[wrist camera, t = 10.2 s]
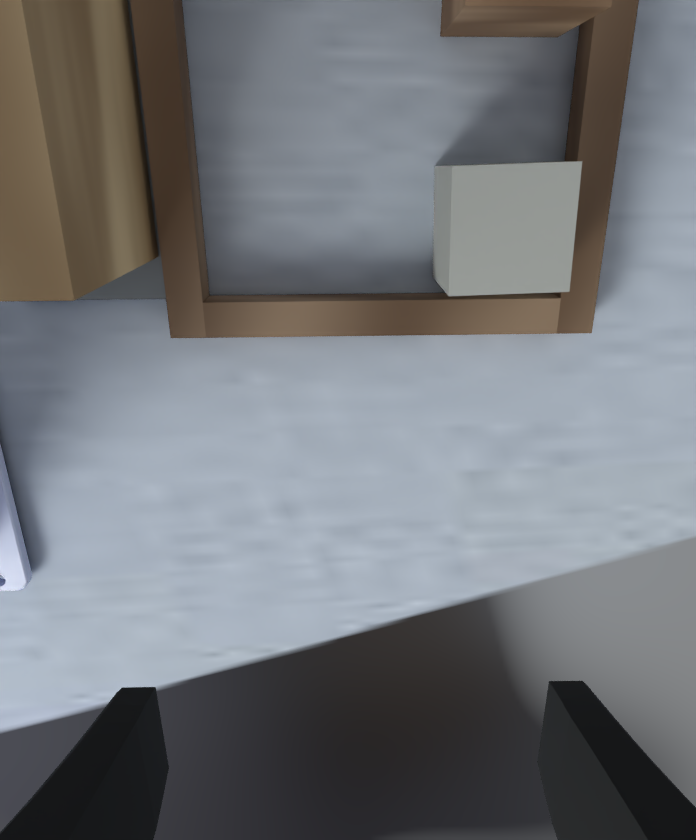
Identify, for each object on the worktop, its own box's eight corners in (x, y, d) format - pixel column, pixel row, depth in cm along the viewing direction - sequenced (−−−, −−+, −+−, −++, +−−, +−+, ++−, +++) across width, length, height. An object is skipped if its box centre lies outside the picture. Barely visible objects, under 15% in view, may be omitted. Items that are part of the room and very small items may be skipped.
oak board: (69, 257, 18) (-57, 301, 12) (7, -96, 15) (-199, -255, 9) (158, 256, 18) (74, 300, 12) (115, -98, 15) (-24, -257, 9)
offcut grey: (432, 276, 18) (448, 296, 16) (434, 165, 17) (452, 166, 14) (534, 272, 18) (569, 291, 16) (543, 161, 17) (582, 161, 14)
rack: (178, 329, 19) (170, 338, 18) (119, -190, 14) (104, -215, 13) (579, 324, 19) (591, 332, 18) (648, -194, 14) (669, -219, 13)
